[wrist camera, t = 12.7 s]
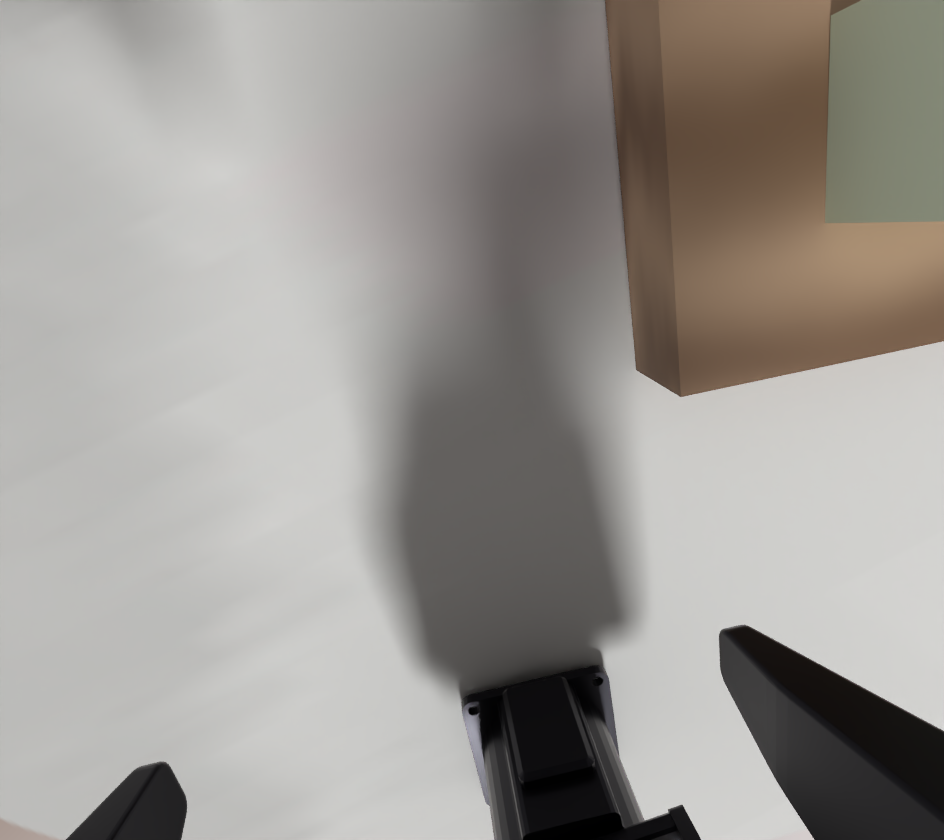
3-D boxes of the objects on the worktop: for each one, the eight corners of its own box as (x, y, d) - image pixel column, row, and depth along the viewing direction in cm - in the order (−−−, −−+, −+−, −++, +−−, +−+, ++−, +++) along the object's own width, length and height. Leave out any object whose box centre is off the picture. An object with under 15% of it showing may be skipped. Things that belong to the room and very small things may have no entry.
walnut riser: (983, 293, 21) (1107, 306, 17) (631, 366, 20) (681, 397, 17) (1044, -177, 16) (1234, -300, 13) (590, -98, 16) (647, -202, 12)
